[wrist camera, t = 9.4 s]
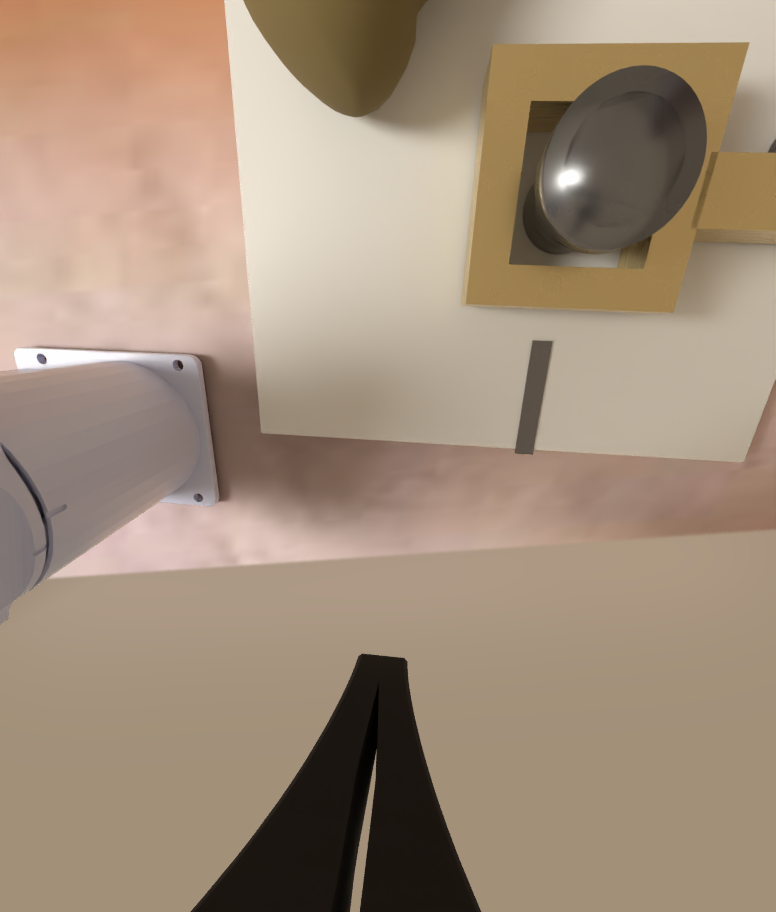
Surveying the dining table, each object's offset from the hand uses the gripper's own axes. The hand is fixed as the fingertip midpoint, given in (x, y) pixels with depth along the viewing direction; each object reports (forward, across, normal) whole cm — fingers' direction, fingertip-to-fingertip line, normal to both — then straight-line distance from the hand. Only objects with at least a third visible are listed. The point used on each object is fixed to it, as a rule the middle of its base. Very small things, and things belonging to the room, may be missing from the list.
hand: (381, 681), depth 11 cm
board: (+10, -4, -13) cm, 17 cm away
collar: (+9, -8, -14) cm, 18 cm away
